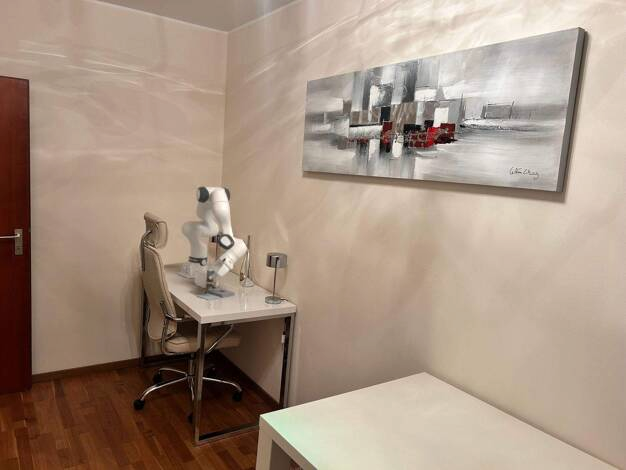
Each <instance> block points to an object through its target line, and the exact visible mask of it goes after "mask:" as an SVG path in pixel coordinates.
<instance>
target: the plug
mask: <svg viewBox="0 0 626 470" xmlns="http://www.w3.org/2000/svg"><path fill="white" fill-rule="evenodd" d="M212 274H213V269H208V271H207V281H206V287H207V288H208V287H212V288H213V286H212V284H213V278H212V279H211V280H210V279H209V276H210V275H212Z"/></svg>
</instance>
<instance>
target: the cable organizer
mask: <svg viewBox="0 0 626 470" xmlns="http://www.w3.org/2000/svg"><path fill="white" fill-rule="evenodd" d="M208 269H211V268H210V266H207V270H203V269H201V268H196V269H195V278H194V284H195V285H196V286H197V287H200V288H201V289H208V287H205V286H203V285H206V281H207V271H208ZM219 279H220V277H219V276H218V275H217V276H216V277H214V278H213V284H212V288H218V286H219Z"/></svg>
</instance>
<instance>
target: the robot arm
mask: <svg viewBox="0 0 626 470" xmlns="http://www.w3.org/2000/svg"><path fill="white" fill-rule="evenodd" d="M195 192H196V193H195V195H196V196H195V197H196V200H197V206H196V211H195V215H196V216H197V218H199V219H200V221H199V220H197V221H196V220H190V221H185V222H183V224H182V225H181V233H182V235H183V236H184V237H186V239H187V240H188V242H189V244H190V245H189V246H190V256H188V261H187V262H185V263H184V264H182V266H181V268H180V269H181V270H180V271H178V272H177V275H180V276H182V277H183V278H187V279H195V269H196V268H201V269H203V270H207V267H208V264H207V263H208V246H207V244H206V243H205V242H203V241H201V238H212V237H215V236H217V235H218V234H219V231H220V230H219V227H220V229H221V232H222V235H220V236H219V237H218V239H217V245H218V247H219V248H220V250H221V251H222V253H223V254H222V255H221V256H220V257H219V258H218V259H217V260H216V261H214V262H213V263H212V264H211V265H210V266H209V267H210V268H211V269H213V274H212V275H210V276H209V279H210V280H211V279H212V278H214V277H216V276H217V275H218V276H219V278H222V277H223V276H224V275H226V274H227V273H228V272H229V271H231V270H233V269H234V265H235V264H236V263H237V261H238V260H240V259H242V257H244V255H245V254H246V253H247V252H248V250H249V246H248V244H247V243H246V242H245V240H244V239H242V238H237V237H234V233H233V227H232V222H231V220H232V219H231V209H230V208H231V207H230V202H229V201H230V199H231V192H230V190H229V189H228V188H226V187H219V186H200V187H198V188H197V190H196V191H195ZM213 216H214V218H213ZM214 219H215V220H216V221H217V222H215V220H214ZM218 225H219V226H218Z"/></svg>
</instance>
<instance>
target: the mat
mask: <svg viewBox="0 0 626 470" xmlns="http://www.w3.org/2000/svg"><path fill="white" fill-rule="evenodd" d="M196 297H197V298H200V299H203V300H207V301H212V300H216V299H221V298H220V297H218V296H215V295H212V294H208V293H204V294H199V295H196Z"/></svg>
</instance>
